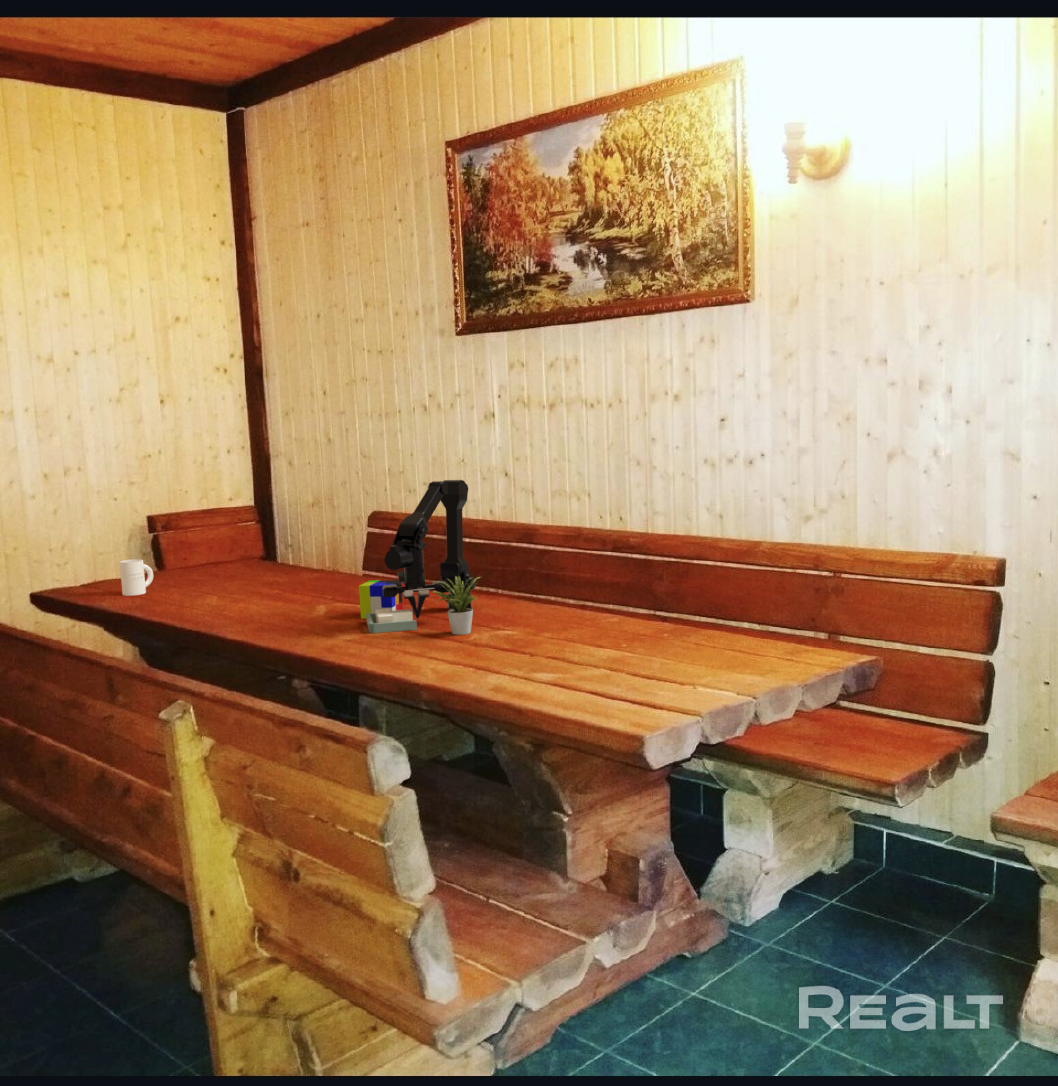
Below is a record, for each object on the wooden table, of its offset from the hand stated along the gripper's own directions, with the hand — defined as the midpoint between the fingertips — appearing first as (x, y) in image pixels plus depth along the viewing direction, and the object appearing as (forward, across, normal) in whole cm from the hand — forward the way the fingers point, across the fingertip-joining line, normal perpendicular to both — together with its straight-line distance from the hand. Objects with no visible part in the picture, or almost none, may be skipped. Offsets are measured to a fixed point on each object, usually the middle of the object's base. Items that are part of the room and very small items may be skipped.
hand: (417, 618), depth 322 cm
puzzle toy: (+2, +9, -18) cm, 20 cm away
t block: (+2, +8, 0) cm, 8 cm away
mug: (+1, +91, -100) cm, 135 cm away
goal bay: (+2, +8, 0) cm, 8 cm away
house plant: (+2, -11, +17) cm, 20 cm away
